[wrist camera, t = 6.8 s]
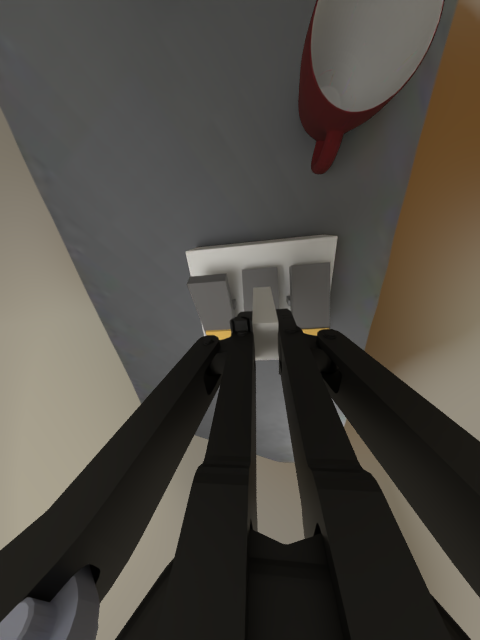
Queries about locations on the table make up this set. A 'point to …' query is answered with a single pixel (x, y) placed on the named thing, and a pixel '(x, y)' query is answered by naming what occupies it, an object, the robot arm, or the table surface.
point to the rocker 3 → (310, 296)
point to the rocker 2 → (259, 284)
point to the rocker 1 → (213, 303)
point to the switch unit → (261, 262)
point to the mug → (358, 64)
